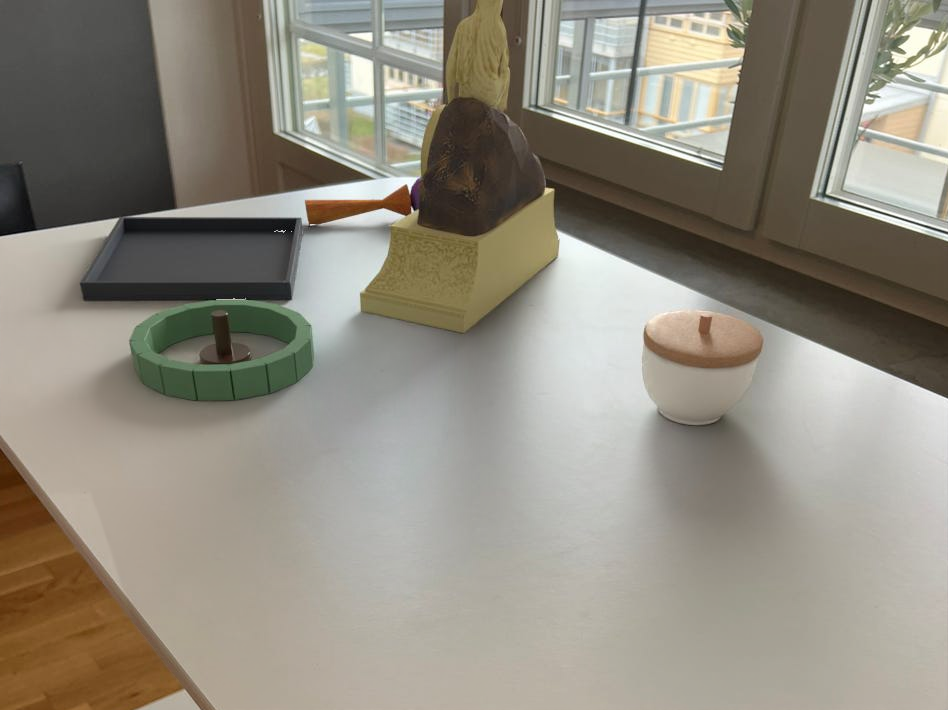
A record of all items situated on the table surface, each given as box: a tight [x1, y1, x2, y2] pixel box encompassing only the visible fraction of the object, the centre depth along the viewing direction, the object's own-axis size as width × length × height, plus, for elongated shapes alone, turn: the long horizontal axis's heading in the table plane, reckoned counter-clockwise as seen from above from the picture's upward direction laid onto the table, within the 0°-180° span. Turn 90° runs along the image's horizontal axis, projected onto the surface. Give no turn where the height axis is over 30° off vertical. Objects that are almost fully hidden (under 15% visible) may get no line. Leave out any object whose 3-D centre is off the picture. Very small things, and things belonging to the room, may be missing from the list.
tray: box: [79, 216, 303, 301], centre depth 121 cm, size 23×23×2 cm
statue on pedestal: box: [359, 0, 560, 334], centre depth 110 cm, size 28×13×30 cm, turn 155°
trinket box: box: [641, 309, 764, 426], centre depth 92 cm, size 11×11×9 cm
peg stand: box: [199, 310, 252, 365], centre depth 99 cm, size 5×5×5 cm
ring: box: [128, 300, 315, 402], centre depth 99 cm, size 18×18×3 cm
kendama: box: [304, 176, 422, 226], centre depth 134 cm, size 6×6×20 cm
